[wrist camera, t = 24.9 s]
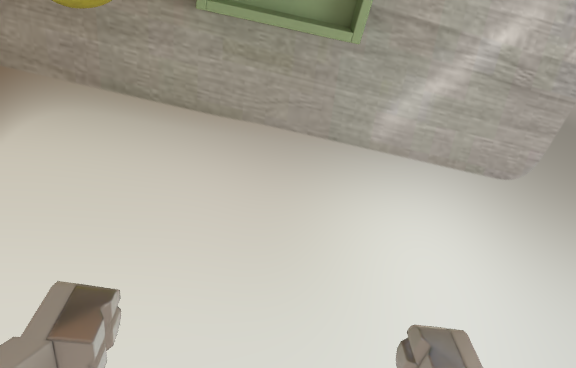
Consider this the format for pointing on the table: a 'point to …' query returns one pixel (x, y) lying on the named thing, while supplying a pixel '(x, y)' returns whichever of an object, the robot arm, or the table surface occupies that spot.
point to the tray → (300, 15)
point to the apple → (82, 3)
